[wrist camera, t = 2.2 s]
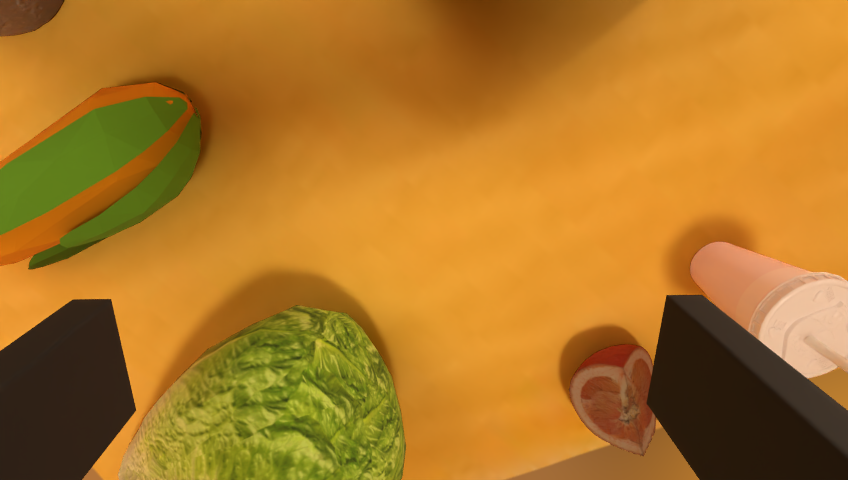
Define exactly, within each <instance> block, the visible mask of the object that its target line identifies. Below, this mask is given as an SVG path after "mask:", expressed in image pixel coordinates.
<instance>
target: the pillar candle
mask: <svg viewBox="0 0 848 480" xmlns="http://www.w3.org/2000/svg"><path fill="white" fill-rule="evenodd" d="M63 1H64V0H0V36H10V35H18V34H23V33H27V32H30V31H34V30H36V29H38V28H39V27H40V26H42V25H43V24H45V23H47V22H48V21H49V20H50V19H52V18H53V16H54V15H55V14H56V13H57V11H58V10H59V8H60V6H61V5H62V3H63Z"/></svg>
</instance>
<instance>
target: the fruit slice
mask: <svg viewBox="0 0 848 480" xmlns="http://www.w3.org/2000/svg"><path fill="white" fill-rule="evenodd" d="M652 371H653V364H652V360H651V358H650V355H649V354H648V352H647V351H646V350H645V349H644V348H642V347H640V346H635V345H627V344H624V345H616V346H611V347H608V348H605V349H603V350H600V351H598V352H596V353H595V354H593V355H592V356H590V357H589V358H588V359H586V360H585V361H584V362H583V363H582V364H581V365H580V367H579V368H578V369H577V371H576V372H575V374H574V376H573V378H572V380H571V383H570V388H569V392H570V398H571V402H572V404H573V407H574V409H575V411H576V412H577V414H578V416H579V417H580V419H581V420H582V422H583V423H584V424H585V425H586V427H587V428H588V429H589V430H590V431H591V432H592V433H594V434H595V435H596V436H598V437H599V438H601V439H603V440H604V441H606V442H608V443H610V444H611V445H613V446H616V447H618V448H620V449H624V450H626V451H628V452H632V453H633V454H638V455H642V456H644V454H645V453H646V449H647V448H648V446H649V443H650V442H651V440H652V436H653V435H654V433H655V425H656V416H655V415H654V413H653V412H652V411H651V409H650V408H649V406H648V405H647V397H648V392H649V387H650V381H651V376H652Z"/></svg>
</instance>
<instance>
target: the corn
mask: <svg viewBox="0 0 848 480" xmlns="http://www.w3.org/2000/svg"><path fill="white" fill-rule="evenodd" d="M190 102H192V101H191V100H190V99H189V98H188V95H186V94H184V93H183V92H181V91H178V90H176V89H173V88H170V87H168V86H165V85H162V84H160V83H156V82H154V83H145V84H137V85H128V86H119V87H110V88H102V89H100V90H99V91H98V92H96V93H95V94H93V95H92V96H91V97H89V98H88V99H87V100H85V101H84V102H82V103H81V104H80V105H78V106H77V107H75V108H74V109H73V110H71V111H70V112H69V113H67V114H66V115H64V116H63V117H62V118H60V119H59V120H58V121H56V122H55V123H53V124H52V125H51V126H49V127H48V128H47V129H45V130H44V131H42V132H41V133H40V134H38V135H37V136H36V137H34V138H33V139H31V140H30V141H29V142H27V143H26V144H25V145H23V146H22V147H20V148H19V149H18V150H16V151H15V152H14V153H12V154H11V155H9V156H8V157H7V158H5V159H4V160H2V161H1V162H0V266H2V265H7V264H12V263H16V262H19V261H21V260H23V259H26V258H28V257H30V256H33V255H34V256H33V257H32V259H31V260H30V262H29V268H28V269H35V268H40V267H43V266H46V265H49V264H52V263H55V262H58V261H61V260H64V259H67V258H69V257H71V256H73V255H75V254H77V253H79V252H81V251H82V250H84V249H86V248H88V247H90V246H92V245H94V244H96V243H98V242H99V241H101V240H103V239H105V238H107V237H109V236H112V235H114V234H116V233H118V232H120V231H122V230H125V229H127V228H129V227H131V226H133V225H135V224H138V223H140V222H141V221H143V220H144V219H146V218H147V217H149V216H150V215H151V214H153V213H154V212H156V211H157V210H158V209H160V208H161V207H163V206H164V205H166V204H167V203H168V202H170V201H171V200H173V199H174V198H175V197H177V196H178V195H179V194H180V192H181V191H182V190H183V188H184V187H185V185H186V184H187V183H188V181H189V180H190V178H191V177H192V174H193V171H194V168H195V166H196V163H197V160H198V157H199V154H200V140H201V118H200V114H199V112H198V110H197V108H196V107H194V108H195V110H196V113H197V116H198V117H197V116H196V114H195V112H194V110H193V107H192V105H191V103H190Z"/></svg>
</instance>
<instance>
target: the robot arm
mask: <svg viewBox="0 0 848 480" xmlns="http://www.w3.org/2000/svg"><path fill="white" fill-rule="evenodd" d="M647 405H648V406H649V408H650V409H651V411H652V412H653V413H654V415H655V416H656V418H657V419H658V421H659V422H660V424H661V425H662V426H663V428H664V429H665V431H666V432H667V433H668V435H669V436H670V438H671V439H672V441H673V442H674V443H675V445H676V446H677V448H678V449H679V451H680V452H681V453H682V455H683V456H684V458H685V459H686V461H687V462H688V464H689V465H690V467H691V468H692V469H693V471H694V472H695V474H696V475H697V477H698V478H699V479H700V480H848V410H846V409H845V408H844V407H842V406H841V405H840V404H838V403H837V402H836V401H835V400H834V399H832V398H831V397H830V396H829V395H827V394H826V393H825V392H824V391H822V390H821V389H820V388H819V387H817V386H816V385H815V384H813V383H812V382H811V381H810V380H809V379H807V378H806V377H805V376H803V375H802V374H801V373H800V372H798V371H797V370H796V369H795V368H793V367H792V366H791V365H790V364H788V363H787V362H786V361H785V360H783V359H782V358H781V357H780V356H778V355H777V354H776V353H775V352H773V351H772V350H771V349H769V348H768V347H767V346H766V345H764V344H763V343H762V342H761V341H759V340H758V339H757V338H756V337H754V336H753V335H752V334H751V333H749V332H748V331H747V330H746V329H744V328H743V327H742V326H740V325H739V324H738V323H737V322H735V321H734V320H733V319H732V318H730V317H729V316H728V315H727V314H725V313H724V312H723V311H722V310H720V309H719V308H718V307H717V306H715V305H714V304H713V303H712V302H710V301H709V300H708V299H706V298H705V297H704V296H703V295H667V296H666V301H665V307H664V312H663V317H662V323H661V328H660V333H659V339H658V344H657V349H656V355H655V360H654V365H653V371H652V376H651V381H650V387H649V392H648V397H647ZM135 411H136V408H135V403H134V399H133V395H132V390H131V386H130V381H129V377H128V372H127V368H126V363H125V359H124V355H123V350H122V346H121V341H120V337H119V332H118V328H117V324H116V319H115V315H114V310H113V306H112V301H111V299H79V300H72V301H70V302H69V303H67V304H66V305H65V306H63V307H62V308H60V309H59V310H57V311H56V312H55V313H53V314H52V315H50V316H49V317H48V318H46V319H45V320H43V321H42V322H41V323H39V324H38V325H36V326H35V327H34V328H32V329H31V330H29V331H28V332H26V333H25V334H24V335H22V336H21V337H19V338H18V339H17V340H15V341H14V342H12V343H11V344H10V345H8V346H7V347H5V348H4V349H3V350H1V351H0V480H82V479H83V478H84V476H85V475H86V474H87V473H88V471H89V470H90V469H91V467H92V466H93V465H94V464H95V462H96V461H97V460H98V458H99V457H100V456H101V455H102V453H103V452H104V451H105V449H106V448H107V447H108V446H109V444H110V443H111V442H112V441H113V439H114V438H115V437H116V435H117V434H118V433H119V432H120V430H121V429H122V428H123V426H124V425H125V424H126V423H127V421H128V420H129V419H130V417H131V416H132V415H133V414H134V412H135Z"/></svg>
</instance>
